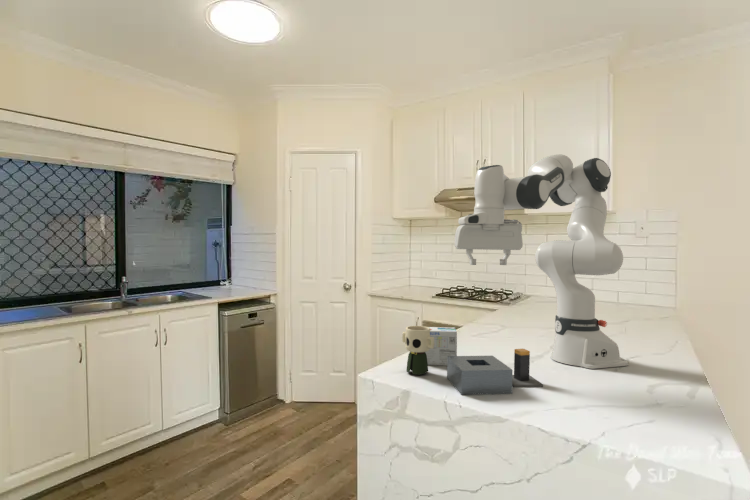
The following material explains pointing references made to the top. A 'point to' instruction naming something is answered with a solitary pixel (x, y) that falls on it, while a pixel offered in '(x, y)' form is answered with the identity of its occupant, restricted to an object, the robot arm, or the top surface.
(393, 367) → the top surface
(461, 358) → the block
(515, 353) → the block
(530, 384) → the mat
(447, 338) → the light bulb box
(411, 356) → the character mug
